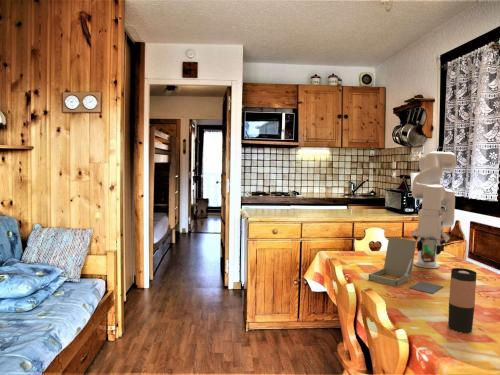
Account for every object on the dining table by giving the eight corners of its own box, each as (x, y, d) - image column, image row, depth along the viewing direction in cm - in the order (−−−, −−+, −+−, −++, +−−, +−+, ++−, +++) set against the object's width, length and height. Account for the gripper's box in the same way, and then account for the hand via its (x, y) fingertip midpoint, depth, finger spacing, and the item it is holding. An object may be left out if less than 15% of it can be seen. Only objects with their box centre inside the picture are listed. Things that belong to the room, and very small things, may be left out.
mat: (420, 281, 185) (420, 281, 185) (443, 287, 178) (443, 286, 178) (409, 288, 175) (409, 287, 175) (432, 294, 168) (432, 293, 168)
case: (387, 271, 202) (389, 236, 201) (414, 277, 193) (416, 240, 192) (368, 279, 187) (370, 242, 186) (396, 286, 178) (398, 246, 176)
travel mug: (442, 324, 137) (446, 267, 136) (463, 323, 138) (467, 267, 136) (456, 333, 129) (460, 274, 128) (477, 333, 130) (482, 274, 129)
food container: (439, 264, 169) (440, 240, 168) (424, 263, 171) (424, 240, 170) (435, 258, 181) (435, 236, 180) (420, 257, 182) (421, 235, 182)
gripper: (454, 214, 171) (452, 254, 172) (414, 210, 183) (412, 247, 184) (449, 216, 166) (446, 257, 167) (408, 211, 178) (405, 250, 179)
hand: (428, 252), depth 176 cm, fingers closed on food container, 7 cm apart
